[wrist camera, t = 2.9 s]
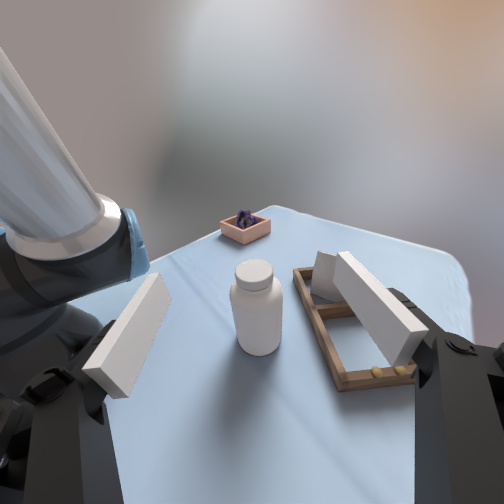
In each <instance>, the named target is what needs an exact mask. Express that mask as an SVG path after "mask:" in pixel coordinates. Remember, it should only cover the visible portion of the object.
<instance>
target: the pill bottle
mask: <svg viewBox="0 0 504 504" xmlns="http://www.w3.org/2000/svg"><path fill="white" fill-rule="evenodd" d="M235 278H236V280H235V281H234V282H233V284H232V285H231V288H230V302H231V307H232V312H233V317H234V323H235V328H236V333H237V338H238V341H239V344H240V346H241V347H242V348H243V350H245V351H246V352H247V353H249V354H251V355H255V356H264V355H267V354H270V353H272V352H273V351H274V350H275V349H276V348H277V347H278V345H279V344H280V341H281V337H282V303H283V291H282V287H281V284H280V282H279V281H278V280H277V279H276V278H275V277H274V276H273V267H272V266H271V265H270V264H269V263H268V262H266V261H264V260H260V259H251V260H247V261H244V262H242V263H241V264H239V265H238V266H237V268H236V270H235Z"/></svg>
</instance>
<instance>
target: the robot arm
mask: <svg viewBox="0 0 504 504" xmlns="http://www.w3.org/2000/svg"><path fill="white" fill-rule="evenodd" d="M0 221H1V222H3V223H4V224H6V225H7V226H8V228H7V230H6V229H5V228H2V227H1V226H0V461H1V459H2V458H4V461H3V463H2V465H1V467H0V504H124V501H123V496H122V490H121V485H120V479H119V474H118V468H117V463H116V458H115V452H114V447H113V441H112V436H111V430H110V425H109V419H108V414H107V408H106V405H105V403H104V402H103V401H104V399H105V397H106V395H107V394H108V395H109V396H110V397H111V398H113V399H119V398H127V397H129V395H130V393H131V391H132V389H133V386H134V384H135V382H136V380H137V377H138V375H139V373H140V371H141V368H142V366H143V364H144V362H145V359H146V357H147V355H148V352H149V350H150V348H151V346H152V343H153V341H154V339H155V337H156V334H157V332H158V330H159V328H160V325H161V323H162V321H163V319H164V316H165V314H166V312H167V310H168V307H169V305H170V303H171V301H172V299H171V297H170V294H169V292H168V290H167V287H166V285H165V283H164V281H163V278H162V276H161V274H160V272H159V273H151V274H149V275H148V276H147V278H146V279H145V281H144V282H143V284H142V285H141V286H140V288H139V289H138V291H137V292H136V293H135V295H134V296H133V298H132V299H131V300H130V302H129V303H128V305H127V306H126V307H125V309H124V310H123V312H122V313H121V315H120V316H119V317H118V319H117V320H112V321H111V322H110V323H108V324H107V325H106V326H105V327H104V328H103V326H102V324H101V323H100V322H99V321H98V319H97V318H96V317H94V316H93V315H91V314H89V313H87V312H84V311H82V310H80V309H78V308H76V307H74V306H72V305H70V304H68V303H67V302H69V301H72V300H74V299H77V298H80V297H83V296H86V295H89V294H91V293H94V292H97V291H100V290H103V289H106V288H109V287H112V286H115V285H118V284H121V283H124V282H128V281H131V280H132V279H133V278H136V277H138V276H141V275H143V274H145V273H146V272H148V270H149V268H150V263H149V259H148V255H147V251H146V248H145V245H144V242H143V238H142V235H141V231H140V228H139V225H138V222H137V219H136V216H135V214H134V212H133V210H131V209H124V208H122V209H119V207H118V206H117V205H116V203H115V202H114V201H112V200H111V199H110V198H108V197H106V196H104V195H101V194H97V193H95V192H94V191H93V189H92V188H91V186H90V184H89V183H88V181H87V180H86V178H85V177H84V175H83V174H82V172H81V171H80V169H79V167H78V166H77V164H76V163H75V161H74V160H73V158H72V157H71V155H70V154H69V152H68V150H67V149H66V147H65V146H64V144H63V143H62V141H61V140H60V138H59V137H58V135H57V133H56V132H55V130H54V129H53V127H52V126H51V124H50V123H49V121H48V120H47V118H46V116H45V115H44V113H43V112H42V110H41V109H40V107H39V106H38V104H37V103H36V101H35V99H34V98H33V96H32V95H31V93H30V92H29V90H28V89H27V87H26V85H25V84H24V82H23V81H22V79H21V78H20V76H19V75H18V73H17V72H16V70H15V68H14V67H13V65H12V64H11V62H10V61H9V59H8V58H7V56H6V55H5V53H4V52H3V50H2V49H1V47H0ZM333 283H334V284H335V286H336V287H337V288H338V290H339V291H340V293H341V294H342V296H343V297H344V299H345V300H346V301H347V303H348V304H349V306H350V307H351V309H352V310H353V312H354V313H355V315H356V316H357V317H358V319H359V320H360V322H361V323H362V325H363V326H364V328H365V329H366V330H367V332H368V333H369V335H370V336H371V338H372V339H373V341H374V342H375V344H376V345H377V346H378V348H379V349H380V351H381V352H382V354H383V355H384V357H385V358H386V359H387V361H388V362H389V364H390V365H391V367H398V366H407V365H408V363H409V362H410V360H411V358H412V360H413V361H414V362H415V363H416V365H417V366H416V368H415V369H414V371H413V372H412V374H411V376H410V378H411V379H413V378H414V377H415V504H504V343H502V344H501V345H500V346H499V347H498V348H492V347H486V346H479V345H474V344H473V343H471V342H470V341H468V340H467V339H465V338H463V337H461V336H459V335H457V334H453V333H449V332H445V331H444V330H443V329H442V328H440V327H439V326H438V325H437V324H436V323H435V322H434V321H433V320H432V319H430V318H429V317H428V316H427V315H426V314H425V313H424V312H423V311H422V310H420V309H419V308H417V306H416V305H415V304H414V303H413V302H411V301H410V300H409V299H408V298H407V297H406V296H405V295H404V294H403V293H401V292H399V291H397V290H396V289H394V288H385V287H384V286H383V285H382V284H381V283H380V282H379V281H378V280H377V279H376V278H375V277H374V276H373V275H372V274H371V273H370V272H369V271H368V270H367V269H366V268H365V267H364V266H363V265H362V264H361V263H360V262H359V261H357V260H356V259H355V258H354V257H353V256H352V255H351V254H350V253H349V252H348V251H345V252H338V253H337V259H336V265H335V271H334V277H333Z"/></svg>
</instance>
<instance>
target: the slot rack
mask: <svg viewBox="0 0 504 504" xmlns="http://www.w3.org/2000/svg"><path fill="white" fill-rule="evenodd" d="M313 269H314V267H306V268H297V269H293V280H294V282H295V285H296V287H297V290H298V292H299V295H300V297H301V300H302V302H303V305H304V307H305V310H306V312H307V315H308V317H309V320H310V322H311V325H312V327H313V330H314V332H315V335H316V337H317V340H318V342H319V345H320V347H321V350H322V352H323V355H324V358H325V360H326V363H327V365H328V368H329V370H330V373H331V375H332V378H333V380H334V383H335V385H336V388H337V390H338V392H344V391H353V390H362V389H370V388H379V387H388V386H397V385H406V384H415V377H414V378H413V379H411V378H410V376H411V374H412V372H413V371H414V369H415V368H416V366H417V365H416V363H415V362H414V361H413V360H412V358H411V360H410V362H409V363H408V365H407V366H398V367H387V368H378V367H373V368H372V369H370V370H361V371H352V372H346V371H345V369H344V367H343V365H342V363H341V360H340V358H339V356H338V354H337V352H336V350H335V348H334V345H333V343H332V341H331V339H330V337H329V335H328V333H327V330H326V328H325V326H324V324H323V322H322V319H331V318H341V317H350V316H356V315H355V313H354V312H353V310H352V309H351V307H350V306H349V304H348V303H347V302H340V303H330V304H321V305H314V302H313V300H312V298H311V296H310V294H309V292H308V290H307V287H306V285H305V283H304V281H303V280H310V279H312V273H313Z"/></svg>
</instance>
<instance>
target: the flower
mask: <svg viewBox="0 0 504 504" xmlns="http://www.w3.org/2000/svg"><path fill="white" fill-rule="evenodd" d="M256 224H258V218H256V217H253V216H251V211H250V210H248V211H242V210H241V211H240V212H239V213H238V215H237V216H236V222H235V227H238V228H240V229H243V230H244V229H246V228H249V227H251V226H253V225H256Z"/></svg>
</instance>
